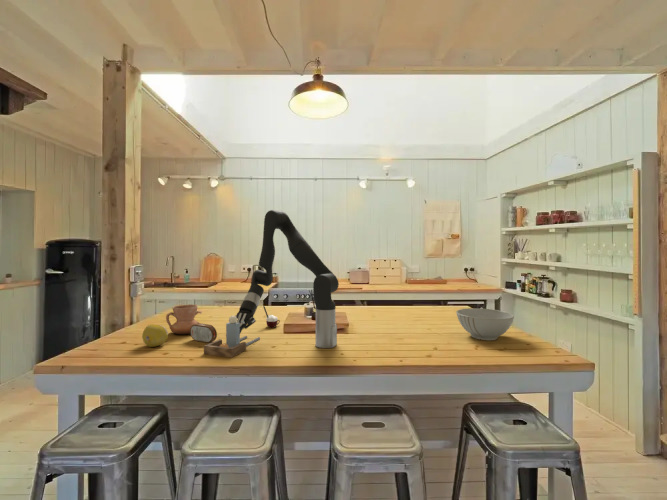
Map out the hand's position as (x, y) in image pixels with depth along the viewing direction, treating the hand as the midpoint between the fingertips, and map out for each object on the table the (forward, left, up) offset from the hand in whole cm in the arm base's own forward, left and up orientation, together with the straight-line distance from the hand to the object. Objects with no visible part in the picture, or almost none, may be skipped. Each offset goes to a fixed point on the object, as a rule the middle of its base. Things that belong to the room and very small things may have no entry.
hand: (235, 335), depth 160 cm
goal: (0, +7, -5) cm, 9 cm away
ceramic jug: (+40, -12, -6) cm, 42 cm away
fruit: (+36, +11, -6) cm, 38 cm away
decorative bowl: (-109, -55, -6) cm, 122 cm away
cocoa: (+3, -39, -6) cm, 40 cm away
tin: (+20, -2, -6) cm, 21 cm away
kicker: (0, +2, -5) cm, 6 cm away
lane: (0, -6, -5) cm, 8 cm away
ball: (0, +8, -5) cm, 9 cm away
